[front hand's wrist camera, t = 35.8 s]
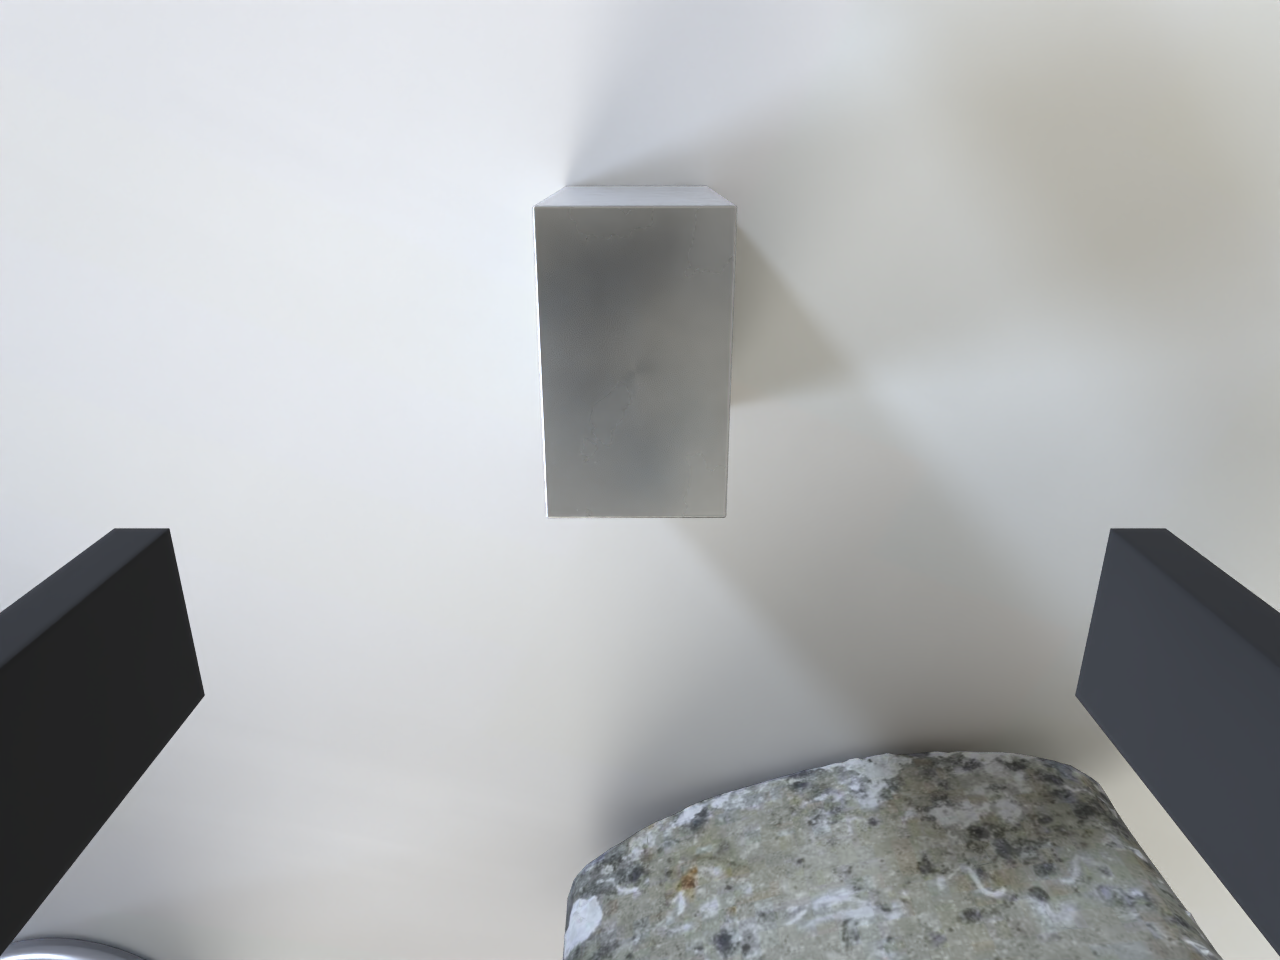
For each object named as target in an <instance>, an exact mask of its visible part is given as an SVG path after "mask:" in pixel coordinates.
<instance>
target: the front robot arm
mask: <svg viewBox="0 0 1280 960" xmlns="http://www.w3.org/2000/svg"><path fill="white" fill-rule="evenodd" d="M204 696H205V695H204V690H203V685H202V680H201V676H200V671H199V666H198V661H197V657H196V652H195V647H194V643H193V638H192V633H191V628H190V624H189V619H188V614H187V609H186V605H185V600H184V595H183V591H182V586H181V581H180V576H179V572H178V567H177V562H176V558H175V553H174V548H173V543H172V539H171V534H170V529H113V530H112V531H110V532H109V533H108V534H106V535H105V536H104V537H102V538H101V539H100V540H98V541H97V542H96V543H94V544H93V545H91V546H90V547H89V548H87V549H86V550H85V551H83V552H82V553H81V554H79V555H78V556H77V557H75V558H74V559H73V560H71V561H70V562H68V563H67V564H66V565H64V566H63V567H62V568H60V569H59V570H58V571H56V572H55V573H54V574H52V575H51V576H50V577H48V578H47V579H45V580H44V581H43V582H41V583H40V584H39V585H37V586H36V587H35V588H33V589H32V590H31V591H29V592H28V593H27V594H25V595H24V596H22V597H21V598H20V599H18V600H17V601H16V602H14V603H13V604H12V605H10V606H9V607H8V608H6V609H5V610H4V611H2V612H1V613H0V960H145V959H143V958H140V957H138V956H136V955H133V954H131V953H129V952H126V951H123V950H120V949H117V948H114V947H111V946H107V945H104V944H99V943H95V942H90V941H83V940H76V939H65V938H42V939H31V940H24V941H19V942H14V943H11V942H12V941H13V939H14V938H15V937H16V936H17V934H18V933H19V932H20V931H21V929H22V928H23V927H24V925H25V924H26V923H27V922H28V920H29V919H30V918H31V916H32V915H33V914H34V913H35V911H36V910H37V909H38V908H39V906H40V905H41V904H42V902H43V901H44V900H45V899H46V897H47V896H48V895H49V893H50V892H51V891H52V890H53V888H54V887H55V886H56V885H57V883H58V882H59V881H60V879H61V878H62V877H63V876H64V874H65V873H66V872H67V871H68V869H69V868H70V867H71V865H72V864H73V863H74V862H75V860H76V859H77V858H78V856H79V855H80V854H81V853H82V851H83V850H84V849H85V848H86V846H87V845H88V844H89V842H90V841H91V840H92V839H93V837H94V836H95V835H96V834H97V832H98V831H99V830H100V828H101V827H102V826H103V825H104V823H105V822H106V821H107V819H108V818H109V817H110V816H111V814H112V813H113V812H114V811H115V809H116V808H117V807H118V805H119V804H120V803H121V802H122V800H123V799H124V798H125V796H126V795H127V794H128V793H129V791H130V790H131V789H132V788H133V786H134V785H135V784H136V782H137V781H138V780H139V779H140V777H141V776H142V775H143V774H144V772H145V771H146V770H147V768H148V767H149V766H150V765H151V763H152V762H153V761H154V759H155V758H156V757H157V756H158V754H159V753H160V752H161V751H162V749H163V748H164V747H165V745H166V744H167V743H168V742H169V740H170V739H171V738H172V737H173V735H174V734H175V733H176V731H177V730H178V729H179V728H180V726H181V725H182V724H183V722H184V721H185V720H186V719H187V717H188V716H189V715H190V714H191V712H192V711H193V710H194V708H195V707H196V706H197V705H198V703H199V702H200V701H201V699H202V698H203V697H204ZM1075 696H1076V697H1077V698H1078V699H1079V701H1080V702H1081V703H1082V705H1083V706H1084V707H1085V708H1086V710H1087V711H1088V712H1089V714H1090V715H1091V716H1092V717H1093V719H1094V720H1095V721H1096V722H1097V724H1098V725H1099V726H1100V728H1101V729H1102V730H1103V731H1104V733H1105V734H1106V735H1107V737H1108V738H1109V739H1110V740H1111V742H1112V743H1113V744H1114V745H1115V747H1116V748H1117V749H1118V751H1119V752H1120V753H1121V754H1122V756H1123V757H1124V758H1125V759H1126V761H1127V762H1128V763H1129V765H1130V766H1131V767H1132V768H1133V770H1134V771H1135V772H1136V774H1137V775H1138V776H1139V777H1140V779H1141V780H1142V781H1143V782H1144V784H1145V785H1146V786H1147V788H1148V789H1149V790H1150V791H1151V793H1152V794H1153V795H1154V796H1155V798H1156V799H1157V800H1158V802H1159V803H1160V804H1161V805H1162V807H1163V808H1164V809H1165V811H1166V812H1167V813H1168V814H1169V816H1170V817H1171V818H1172V819H1173V821H1174V822H1175V823H1176V825H1177V826H1178V827H1179V828H1180V830H1181V831H1182V832H1183V834H1184V835H1185V836H1186V837H1187V839H1188V840H1189V841H1190V842H1191V844H1192V845H1193V846H1194V848H1195V849H1196V850H1197V851H1198V853H1199V854H1200V855H1201V856H1202V858H1203V859H1204V860H1205V862H1206V863H1207V864H1208V865H1209V867H1210V868H1211V869H1212V871H1213V872H1214V873H1215V874H1216V876H1217V877H1218V878H1219V879H1220V881H1221V882H1222V883H1223V885H1224V886H1225V887H1226V888H1227V890H1228V891H1229V892H1230V893H1231V895H1232V896H1233V897H1234V899H1235V900H1236V901H1237V902H1238V904H1239V905H1240V906H1241V908H1242V909H1243V910H1244V911H1245V913H1246V914H1247V915H1248V916H1249V918H1250V919H1251V920H1252V922H1253V923H1254V924H1255V925H1256V927H1257V928H1258V929H1259V931H1260V932H1261V933H1262V934H1263V936H1264V937H1265V938H1266V939H1267V941H1268V942H1269V943H1270V945H1271V946H1272V947H1273V948H1274V950H1275V951H1276V952H1277V953H1278V955H1279V956H1280V613H1279V612H1278V611H1276V610H1275V609H1274V608H1272V607H1271V606H1270V605H1268V604H1267V603H1266V602H1264V601H1263V600H1262V599H1260V598H1259V597H1258V596H1256V595H1255V594H1253V593H1252V592H1251V591H1249V590H1248V589H1247V588H1245V587H1244V586H1243V585H1241V584H1240V583H1239V582H1237V581H1236V580H1235V579H1233V578H1232V577H1230V576H1229V575H1228V574H1226V573H1225V572H1224V571H1222V570H1221V569H1220V568H1218V567H1217V566H1216V565H1214V564H1213V563H1212V562H1210V561H1209V560H1207V559H1206V558H1205V557H1203V556H1202V555H1201V554H1199V553H1198V552H1197V551H1195V550H1194V549H1193V548H1191V547H1190V546H1189V545H1187V544H1186V543H1184V542H1183V541H1182V540H1180V539H1179V538H1178V537H1176V536H1175V535H1174V534H1172V533H1171V532H1170V531H1168V530H1167V529H1110V534H1109V539H1108V543H1107V548H1106V553H1105V558H1104V562H1103V567H1102V572H1101V576H1100V581H1099V586H1098V591H1097V595H1096V600H1095V605H1094V609H1093V614H1092V619H1091V624H1090V628H1089V633H1088V638H1087V643H1086V647H1085V652H1084V657H1083V661H1082V666H1081V671H1080V676H1079V680H1078V685H1077V690H1076V695H1075Z"/></svg>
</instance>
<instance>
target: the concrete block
mask: <svg viewBox="0 0 1280 960" xmlns="http://www.w3.org/2000/svg"><path fill="white" fill-rule="evenodd" d="M563 960H1223V959H1222V958H1221V956H1220V955H1219V954H1218V953H1217V952H1216V950H1215V949H1214V947H1213V946H1212V945H1211V943H1210V942H1209V940H1208V939H1207V937H1206V936H1205V935H1204V933H1203V932H1202V930H1201V929H1200V928H1199V926H1198V925H1197V923H1196V921H1195V920H1194V918H1193V916H1192V914H1191V913H1189V912H1188V911H1187V910H1186V908H1185V907H1184V906H1183V904H1182V903H1181V902H1180V900H1179V899H1178V898H1177V896H1176V895H1175V894H1174V892H1173V891H1172V890H1171V888H1170V887H1169V885H1168V884H1167V882H1166V881H1165V879H1164V878H1163V877H1162V875H1161V874H1160V873H1159V871H1158V870H1157V869H1156V867H1155V866H1154V864H1153V863H1152V862H1151V860H1150V859H1149V858H1148V856H1147V855H1146V853H1145V852H1144V851H1143V849H1142V848H1141V847H1140V845H1139V844H1138V842H1137V841H1136V840H1135V838H1134V837H1133V835H1132V834H1131V832H1130V831H1129V830H1128V828H1127V827H1126V825H1125V824H1124V822H1123V821H1122V819H1121V817H1120V816H1119V814H1118V813H1117V811H1116V810H1115V808H1114V807H1113V805H1112V803H1111V802H1110V800H1109V798H1108V796H1107V795H1106V793H1105V792H1104V790H1103V789H1102V787H1101V786H1100V784H1099V783H1097V782H1096V781H1095V780H1094V779H1092V778H1091V777H1089V776H1088V775H1086V774H1084V773H1082V772H1081V771H1079V770H1077V769H1076V768H1074V767H1072V766H1071V765H1066V764H1062V763H1059V762H1056V761H1052V760H1047V759H1042V758H1038V757H1034V756H1028V755H1022V754H1016V753H1004V752H965V751H958V752H951V753H945V752H937V751H935V752H926V753H917V754H900V755H895V754H889V753H886V754H881V755H876V756H870V757H866V758H864V759H859V758H853V759H849V760H847V761H845V762H840V763H834V764H830V765H827V766H823V767H819V768H814V769H809V770H804V771H801V772H797V773H794V774H791V775H787V776H783V777H779V778H775V779H772V780H768V781H765V782H762V783H758V784H755V785H751V786H748V787H744V788H741V789H737V790H734V791H731V792H727V793H724V794H720V795H717V796H715V797H712V798H709V799H706V800H703V801H701V802H698V803H695V804H693V805H690V806H688V807H687V808H685V809H684V810H682V811H680V812H678V813H676V814H674V815H672V816H669V817H667V818H664V819H662V820H659V821H657V822H655V823H653V824H651V825H649V826H647V827H645V828H644V829H642V830H640V831H639V832H637V833H635V834H634V835H632V836H631V837H629V838H628V839H626V840H625V841H623V842H622V843H620V844H619V845H617V846H614V847H612V848H611V849H609V850H608V851H606V852H605V853H604V854H602V855H601V856H599V857H598V858H596V859H595V860H593V861H592V862H590V863H589V864H587V865H586V866H585V867H584V868H583V870H582V871H581V872H580V873H579V874H578V875H577V877H576V878H575V880H574V881H573V884H572V887H571V890H570V893H569V896H568V901H567V915H566V927H565V936H564V952H563Z"/></svg>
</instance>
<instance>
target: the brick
mask: <svg viewBox="0 0 1280 960" xmlns="http://www.w3.org/2000/svg"><path fill="white" fill-rule="evenodd" d="M736 226H737V206H736V205H734V204H733V203H731V202H730V201H728V200H727V199H726V198H724V197H723V196H721V195H720V194H718V193H717V192H715V191H714V190H712V189H711V188H709V187H708V186H565V187H564V188H562V189H560V190H559V191H557V192H556V193H554V194H552V195H551V196H549V197H548V198H546V199H544V200H543V201H541V202H540V203H538V204H536V205H535V206H533V231H534V253H535V276H536V298H537V320H538V343H539V365H540V388H541V410H542V432H543V455H544V477H545V500H546V516H547V518H724V517H726V505H727V477H728V449H729V421H730V393H731V365H732V337H733V309H734V281H735V254H736Z"/></svg>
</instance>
